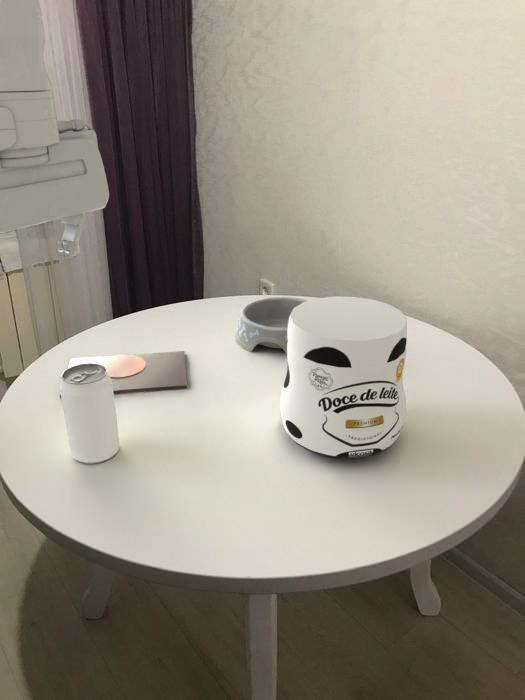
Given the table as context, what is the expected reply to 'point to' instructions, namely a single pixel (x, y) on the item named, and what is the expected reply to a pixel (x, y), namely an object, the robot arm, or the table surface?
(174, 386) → the placemat
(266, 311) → the dog bowl
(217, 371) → the table surface
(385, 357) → the milk container
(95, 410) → the can
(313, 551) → the table surface
